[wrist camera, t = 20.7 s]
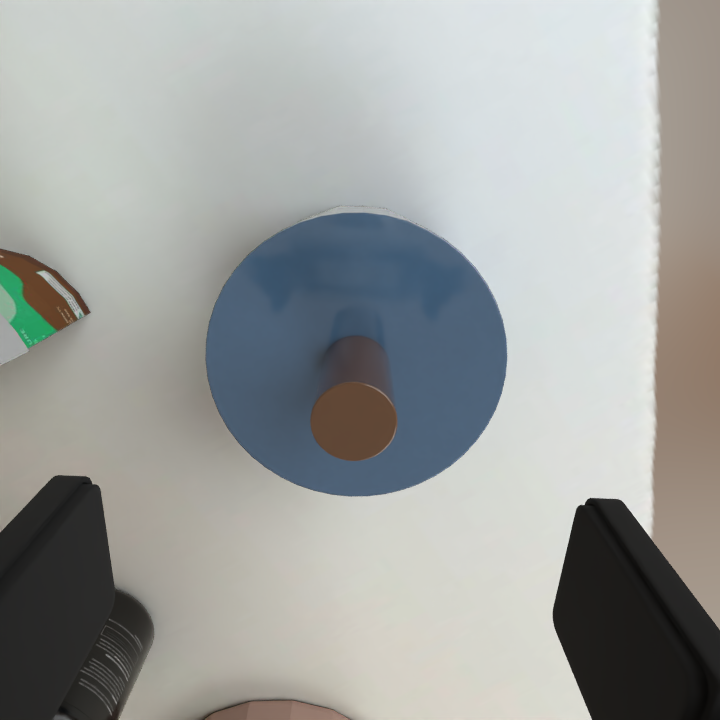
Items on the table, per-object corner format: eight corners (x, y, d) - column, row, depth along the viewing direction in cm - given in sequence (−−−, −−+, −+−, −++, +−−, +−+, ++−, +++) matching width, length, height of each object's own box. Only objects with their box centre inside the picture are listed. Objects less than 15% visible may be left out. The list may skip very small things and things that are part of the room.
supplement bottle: (48, 580, 36) (-99, 773, 24) (152, 584, 36) (53, 778, 24) (64, 658, 38) (-64, 868, 27) (161, 662, 38) (75, 872, 27)
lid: (206, 201, 21) (145, 214, 15) (521, 219, 21) (581, 238, 15) (217, 476, 25) (173, 569, 19) (481, 489, 25) (516, 586, 19)
